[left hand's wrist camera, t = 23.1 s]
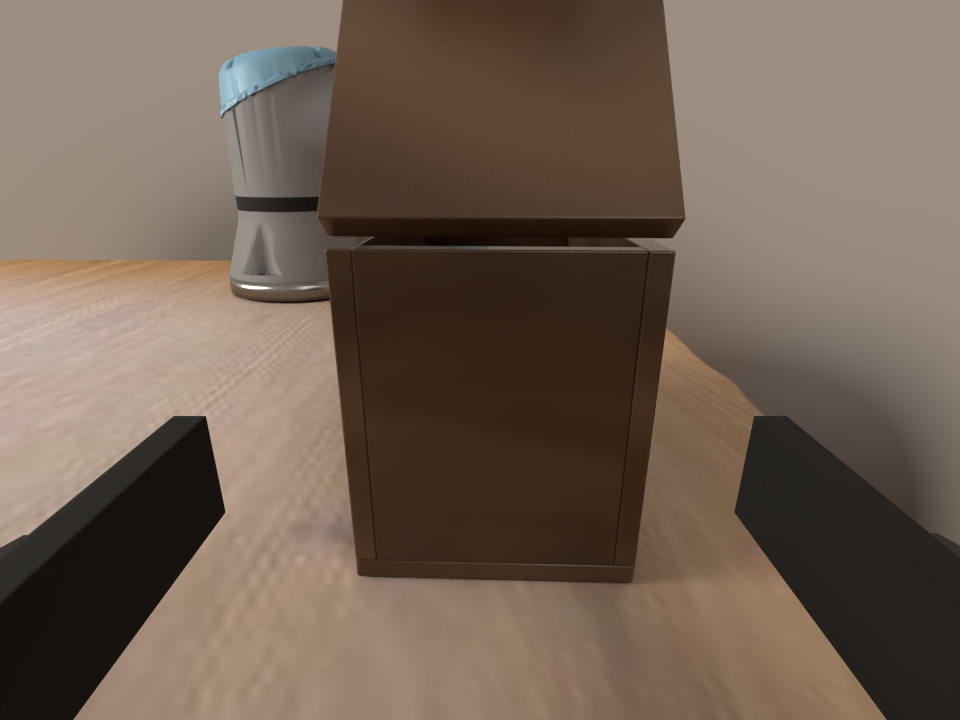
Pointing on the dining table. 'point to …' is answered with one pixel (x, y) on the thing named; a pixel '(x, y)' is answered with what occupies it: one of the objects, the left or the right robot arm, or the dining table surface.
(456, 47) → the lid
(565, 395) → the chest
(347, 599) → the dining table surface
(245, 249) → the right robot arm
